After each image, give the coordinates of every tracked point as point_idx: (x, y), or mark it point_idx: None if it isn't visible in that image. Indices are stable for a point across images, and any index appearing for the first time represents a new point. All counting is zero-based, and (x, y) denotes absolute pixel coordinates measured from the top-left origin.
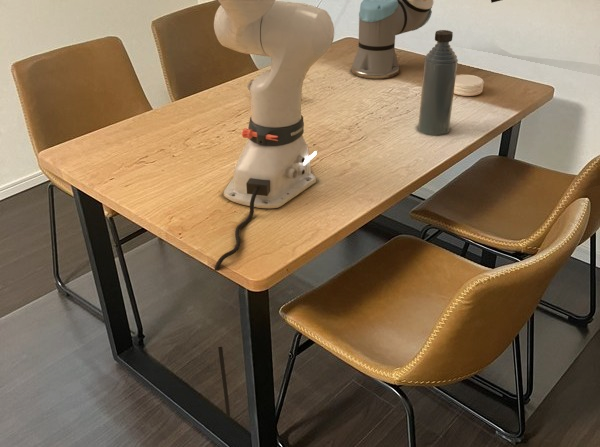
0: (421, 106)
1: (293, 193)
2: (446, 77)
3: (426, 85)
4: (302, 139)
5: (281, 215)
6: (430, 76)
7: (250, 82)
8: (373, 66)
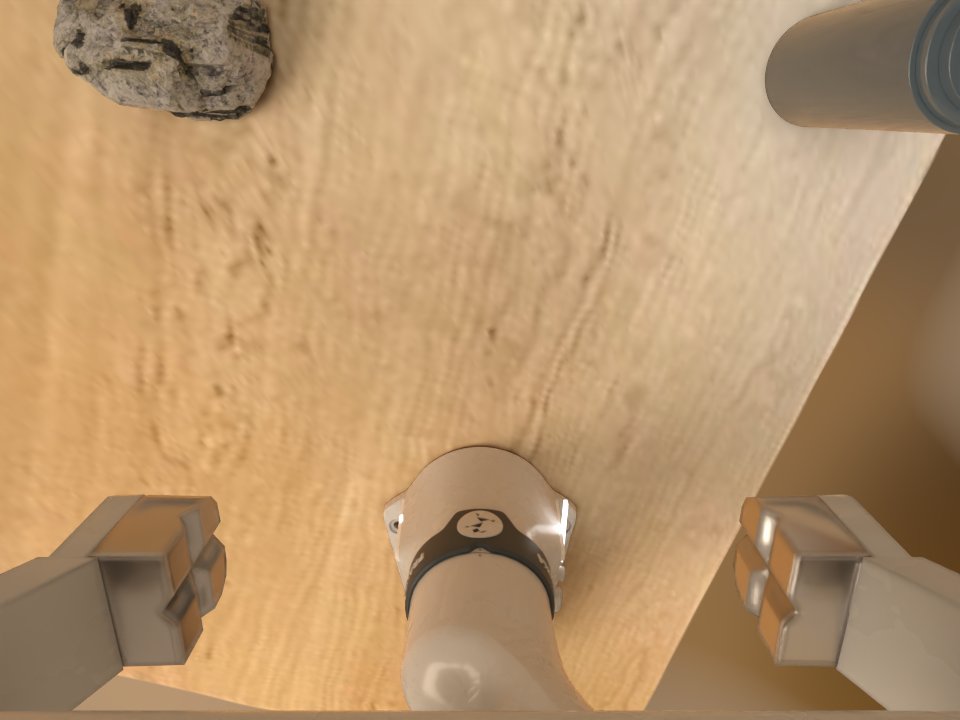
0: (810, 104)
1: (556, 585)
2: None
3: (869, 119)
4: (550, 567)
5: (560, 636)
6: (907, 128)
7: (74, 74)
8: None
